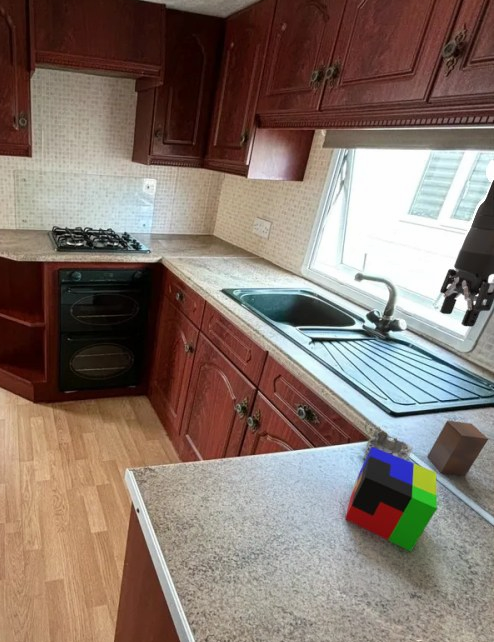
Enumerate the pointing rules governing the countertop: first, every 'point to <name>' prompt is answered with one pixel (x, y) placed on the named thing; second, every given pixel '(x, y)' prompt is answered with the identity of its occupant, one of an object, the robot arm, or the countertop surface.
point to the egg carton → (388, 445)
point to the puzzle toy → (393, 498)
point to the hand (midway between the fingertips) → (455, 319)
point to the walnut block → (457, 448)
